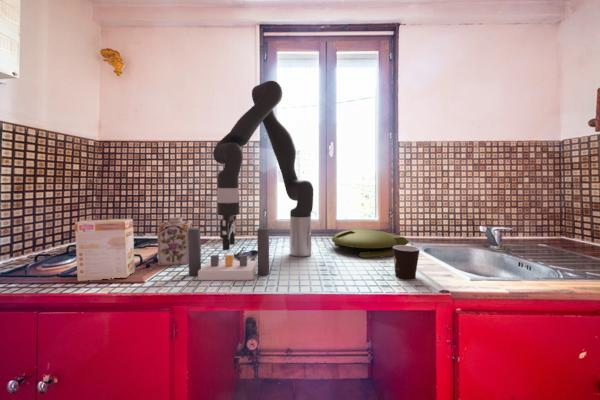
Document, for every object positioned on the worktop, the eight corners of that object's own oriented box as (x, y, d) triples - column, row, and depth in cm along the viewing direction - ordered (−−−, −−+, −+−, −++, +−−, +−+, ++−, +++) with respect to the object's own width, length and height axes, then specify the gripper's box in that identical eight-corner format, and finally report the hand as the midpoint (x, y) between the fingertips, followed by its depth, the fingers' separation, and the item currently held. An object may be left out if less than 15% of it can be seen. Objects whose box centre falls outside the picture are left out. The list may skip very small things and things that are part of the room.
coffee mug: (416, 282, 92) (417, 252, 91) (389, 277, 96) (389, 248, 96) (422, 273, 101) (422, 245, 101) (397, 269, 106) (398, 242, 105)
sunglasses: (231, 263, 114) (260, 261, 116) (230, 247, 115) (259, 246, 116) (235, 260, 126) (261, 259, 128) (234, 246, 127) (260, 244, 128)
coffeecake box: (135, 272, 101) (133, 218, 100) (126, 279, 94) (124, 221, 93) (89, 274, 99) (86, 219, 98) (76, 281, 92) (73, 222, 91)
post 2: (269, 271, 102) (269, 228, 101) (268, 275, 98) (268, 230, 97) (258, 272, 102) (258, 228, 101) (257, 275, 98) (256, 230, 97)
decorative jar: (157, 266, 109) (156, 219, 108) (165, 258, 121) (164, 216, 119) (190, 264, 112) (189, 219, 111) (194, 256, 123) (193, 215, 122)
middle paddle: (233, 264, 101) (233, 254, 100) (232, 266, 99) (232, 255, 99) (226, 264, 100) (226, 254, 100) (225, 266, 99) (225, 255, 99)
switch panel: (257, 268, 106) (256, 251, 106) (252, 279, 94) (252, 260, 94) (208, 268, 106) (208, 251, 105) (198, 280, 94) (197, 260, 93)
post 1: (202, 272, 102) (201, 228, 101) (199, 276, 98) (198, 230, 97) (191, 272, 102) (190, 228, 101) (187, 276, 98) (186, 230, 97)
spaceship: (380, 241, 158) (380, 224, 157) (419, 254, 129) (419, 233, 128) (322, 245, 147) (322, 227, 146) (350, 261, 118) (350, 238, 117)
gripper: (235, 202, 91) (235, 252, 92) (242, 199, 106) (243, 242, 107) (211, 202, 91) (212, 252, 92) (222, 199, 105) (223, 242, 106)
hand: (229, 247), depth 99 cm, fingers open, 8 cm apart
